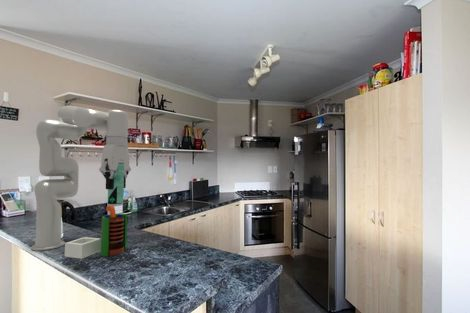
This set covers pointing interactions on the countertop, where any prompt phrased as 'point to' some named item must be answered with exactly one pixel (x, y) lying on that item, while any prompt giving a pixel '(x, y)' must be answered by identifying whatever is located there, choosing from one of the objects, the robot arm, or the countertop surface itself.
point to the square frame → (82, 247)
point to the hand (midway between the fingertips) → (115, 188)
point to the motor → (113, 233)
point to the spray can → (117, 186)
